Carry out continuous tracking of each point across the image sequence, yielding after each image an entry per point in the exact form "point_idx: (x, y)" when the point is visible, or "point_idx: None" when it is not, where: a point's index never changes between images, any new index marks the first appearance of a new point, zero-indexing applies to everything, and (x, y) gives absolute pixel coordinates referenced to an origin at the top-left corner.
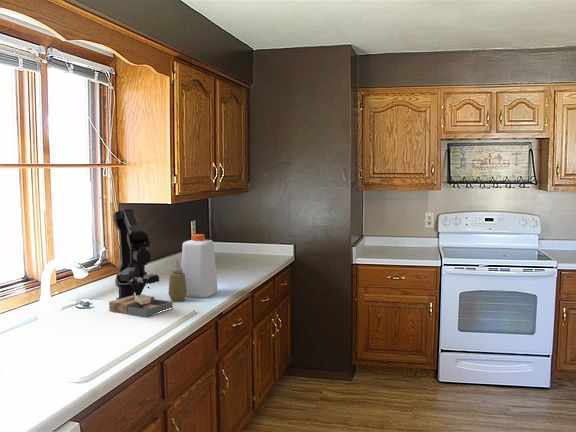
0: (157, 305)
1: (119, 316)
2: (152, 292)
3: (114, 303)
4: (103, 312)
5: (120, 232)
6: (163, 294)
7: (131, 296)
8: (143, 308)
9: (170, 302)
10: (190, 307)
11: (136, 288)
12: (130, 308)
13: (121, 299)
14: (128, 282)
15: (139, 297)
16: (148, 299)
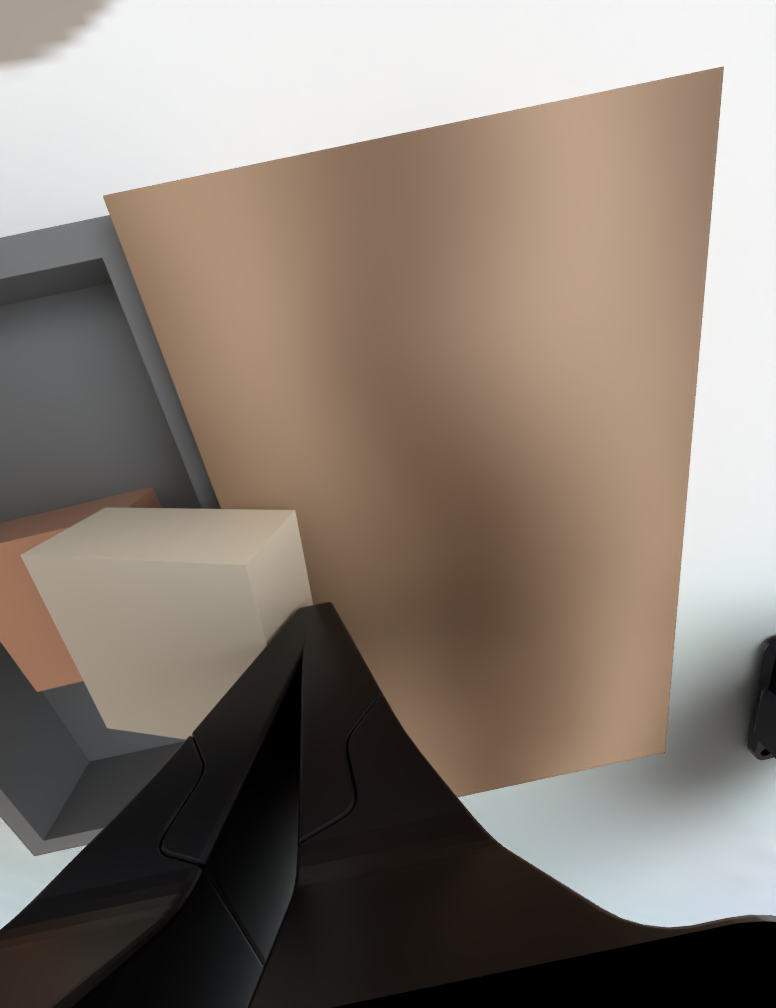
0: (47, 680)
1: (137, 16)
2: (755, 895)
3: (529, 114)
4: (629, 16)
5: None
6: (627, 915)
7: (635, 651)
8: (123, 505)
9: (11, 827)
10: (28, 874)
11: (233, 774)
12: (51, 234)
13: (625, 422)
14: (667, 957)
15: (152, 590)
16: (96, 680)
